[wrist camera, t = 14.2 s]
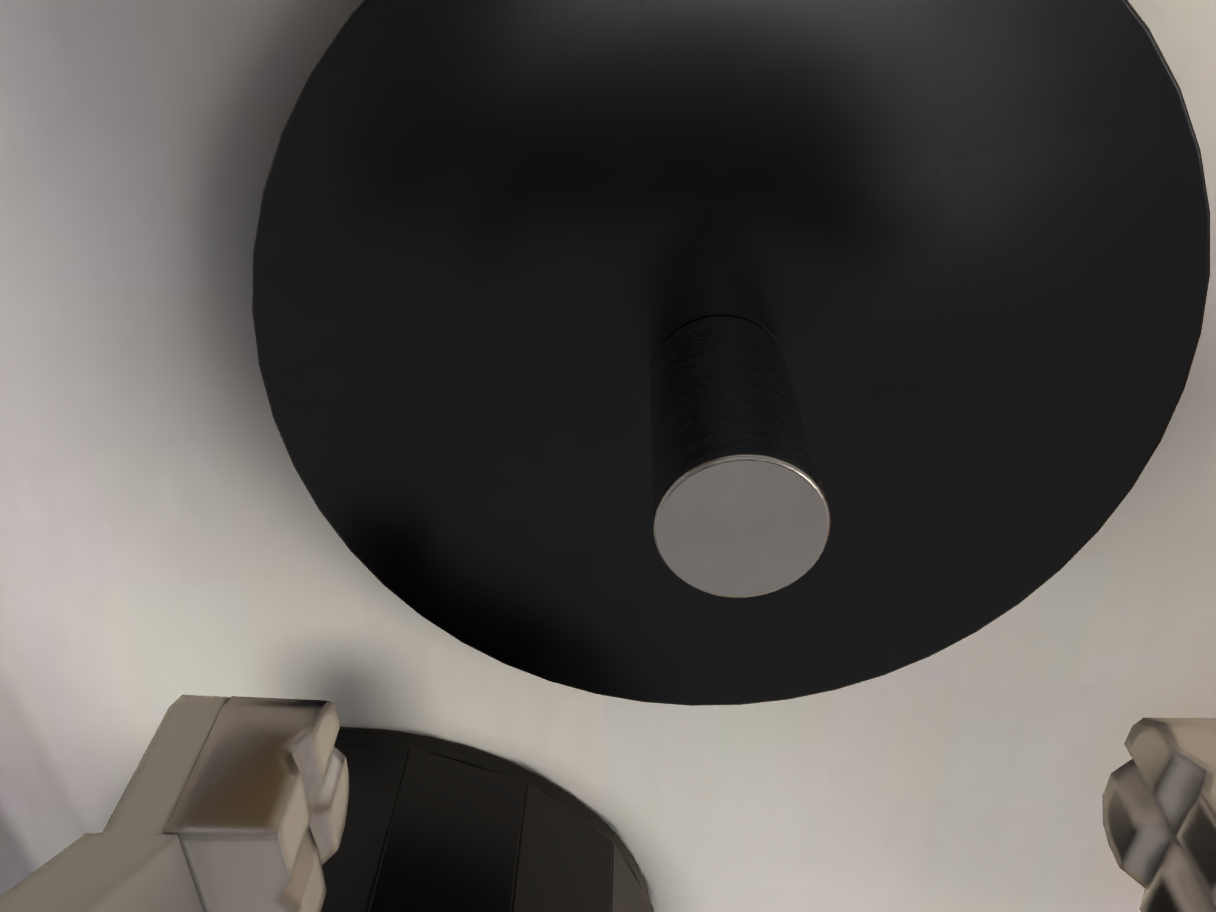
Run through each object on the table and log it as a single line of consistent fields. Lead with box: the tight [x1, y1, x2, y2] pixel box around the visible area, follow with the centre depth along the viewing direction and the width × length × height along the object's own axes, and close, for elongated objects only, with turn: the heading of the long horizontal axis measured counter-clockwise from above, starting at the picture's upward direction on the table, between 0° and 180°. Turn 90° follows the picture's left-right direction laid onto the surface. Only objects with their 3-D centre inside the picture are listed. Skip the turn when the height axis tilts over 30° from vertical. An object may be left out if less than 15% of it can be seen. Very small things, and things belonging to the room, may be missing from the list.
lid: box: [252, 0, 1210, 705], centre depth 15 cm, size 16×16×6 cm
